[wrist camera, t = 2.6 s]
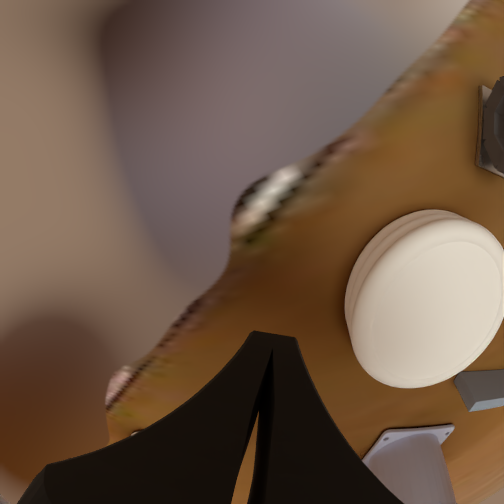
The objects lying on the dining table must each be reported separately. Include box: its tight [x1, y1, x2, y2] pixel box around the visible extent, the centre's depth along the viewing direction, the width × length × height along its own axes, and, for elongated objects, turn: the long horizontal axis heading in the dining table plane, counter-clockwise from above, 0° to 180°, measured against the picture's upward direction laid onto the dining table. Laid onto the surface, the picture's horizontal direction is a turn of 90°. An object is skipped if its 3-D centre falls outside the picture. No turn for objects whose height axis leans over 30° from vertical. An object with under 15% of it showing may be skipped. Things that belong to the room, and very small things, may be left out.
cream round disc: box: [344, 209, 504, 388], centre depth 13 cm, size 10×10×4 cm
